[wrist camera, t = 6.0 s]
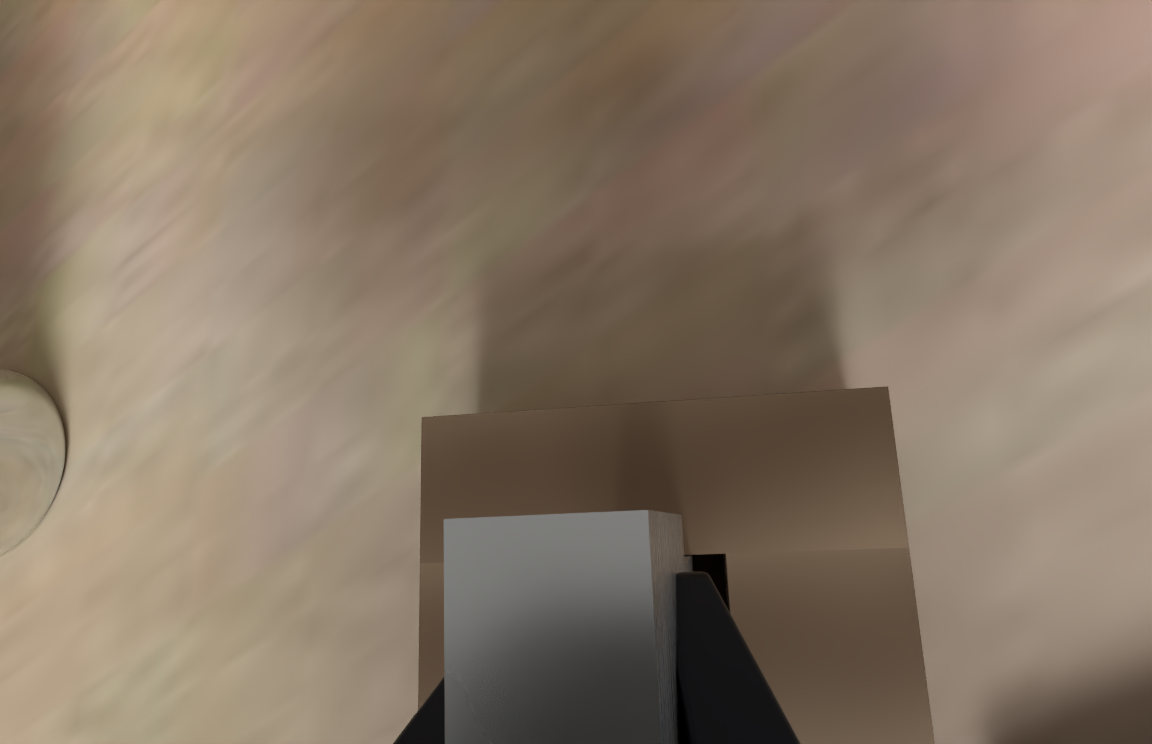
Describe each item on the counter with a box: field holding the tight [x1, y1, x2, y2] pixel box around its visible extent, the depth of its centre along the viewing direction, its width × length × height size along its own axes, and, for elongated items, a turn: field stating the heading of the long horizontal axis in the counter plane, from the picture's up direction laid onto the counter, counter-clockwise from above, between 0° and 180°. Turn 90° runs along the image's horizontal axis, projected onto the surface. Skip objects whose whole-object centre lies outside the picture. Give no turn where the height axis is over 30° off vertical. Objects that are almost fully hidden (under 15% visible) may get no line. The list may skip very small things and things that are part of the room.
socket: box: [418, 387, 935, 744], centre depth 17 cm, size 10×10×4 cm
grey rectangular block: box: [444, 510, 693, 744], centre depth 11 cm, size 4×2×11 cm, turn 2°
